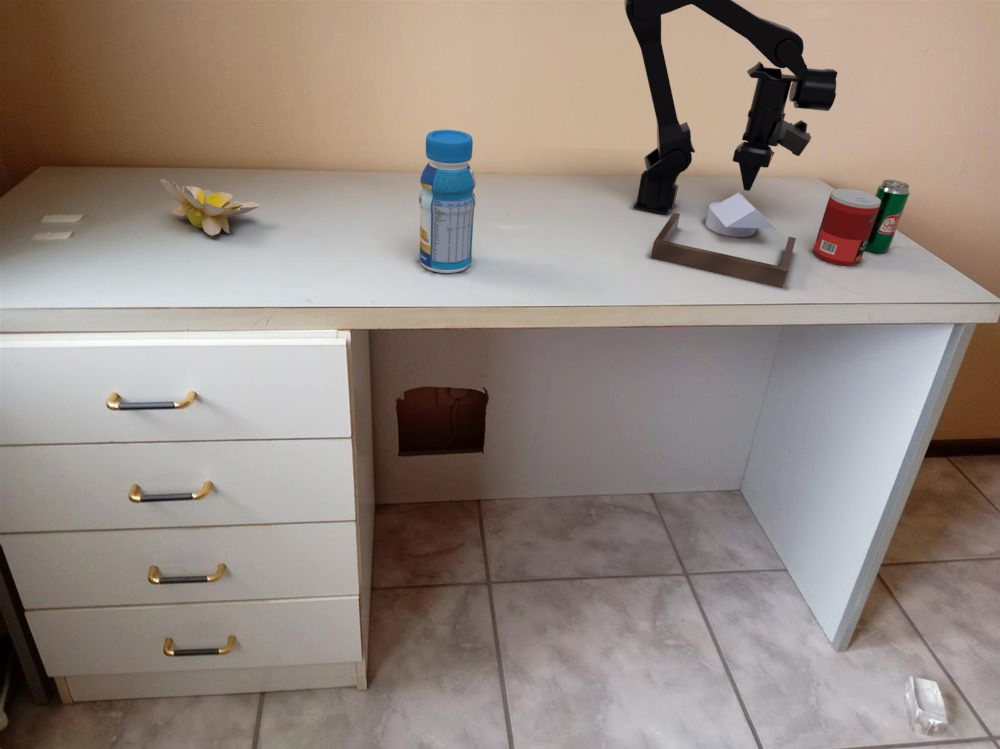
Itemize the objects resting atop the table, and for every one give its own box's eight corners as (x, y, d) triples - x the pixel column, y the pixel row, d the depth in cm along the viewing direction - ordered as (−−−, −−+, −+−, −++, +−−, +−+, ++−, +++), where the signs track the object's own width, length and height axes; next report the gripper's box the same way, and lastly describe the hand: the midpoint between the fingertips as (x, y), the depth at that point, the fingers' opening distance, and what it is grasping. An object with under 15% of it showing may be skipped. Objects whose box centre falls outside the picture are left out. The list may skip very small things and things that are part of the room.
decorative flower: (275, 220, 127) (254, 163, 121) (216, 252, 122) (191, 194, 115) (229, 200, 136) (207, 146, 130) (171, 229, 130) (145, 174, 124)
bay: (650, 258, 129) (653, 241, 128) (670, 228, 141) (673, 212, 140) (782, 287, 123) (787, 270, 122) (791, 253, 135) (796, 237, 134)
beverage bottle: (451, 280, 117) (456, 148, 106) (407, 264, 121) (407, 135, 110) (482, 262, 124) (490, 135, 113) (439, 247, 127) (442, 123, 116)
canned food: (864, 269, 132) (886, 207, 126) (815, 262, 133) (834, 200, 127) (855, 251, 138) (876, 192, 132) (809, 245, 139) (827, 185, 133)
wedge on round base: (770, 246, 137) (745, 218, 148) (780, 210, 134) (753, 184, 145) (721, 245, 136) (699, 217, 147) (730, 208, 133) (706, 182, 144)
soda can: (874, 255, 137) (898, 190, 131) (852, 244, 141) (874, 180, 134) (894, 252, 139) (918, 187, 133) (871, 241, 143) (893, 177, 136)
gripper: (811, 124, 128) (785, 214, 137) (818, 102, 143) (795, 184, 152) (743, 113, 132) (722, 201, 140) (757, 92, 146) (737, 173, 155)
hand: (746, 190), depth 147 cm, fingers closed
